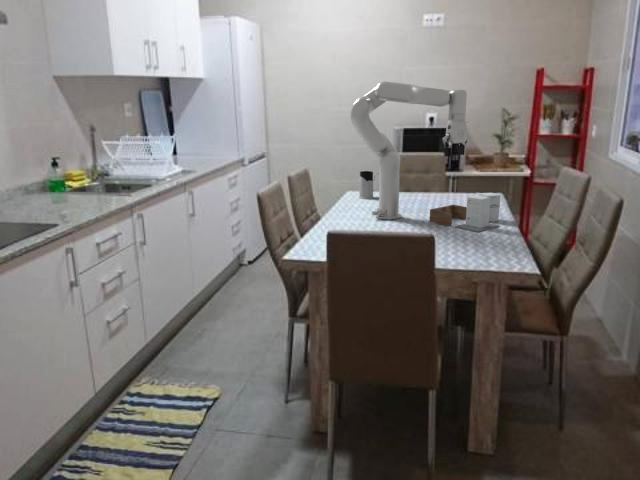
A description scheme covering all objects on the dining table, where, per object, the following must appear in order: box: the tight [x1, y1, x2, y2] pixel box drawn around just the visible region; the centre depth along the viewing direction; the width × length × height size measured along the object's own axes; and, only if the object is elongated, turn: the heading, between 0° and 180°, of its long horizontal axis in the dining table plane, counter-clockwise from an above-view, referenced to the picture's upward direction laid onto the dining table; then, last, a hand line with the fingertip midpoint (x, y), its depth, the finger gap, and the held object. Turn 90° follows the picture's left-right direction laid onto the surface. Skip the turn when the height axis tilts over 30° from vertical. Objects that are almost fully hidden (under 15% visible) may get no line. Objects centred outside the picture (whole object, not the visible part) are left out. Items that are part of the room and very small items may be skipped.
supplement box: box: [478, 192, 501, 222], centre depth 249 cm, size 7×7×13 cm
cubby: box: [429, 204, 467, 227], centre depth 248 cm, size 17×12×6 cm
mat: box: [454, 223, 500, 233], centre depth 237 cm, size 16×12×1 cm
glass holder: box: [358, 170, 379, 200], centre depth 307 cm, size 9×14×15 cm, turn 118°
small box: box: [465, 195, 490, 228], centre depth 236 cm, size 8×6×13 cm
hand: (454, 155), depth 245 cm, fingers open, 9 cm apart
